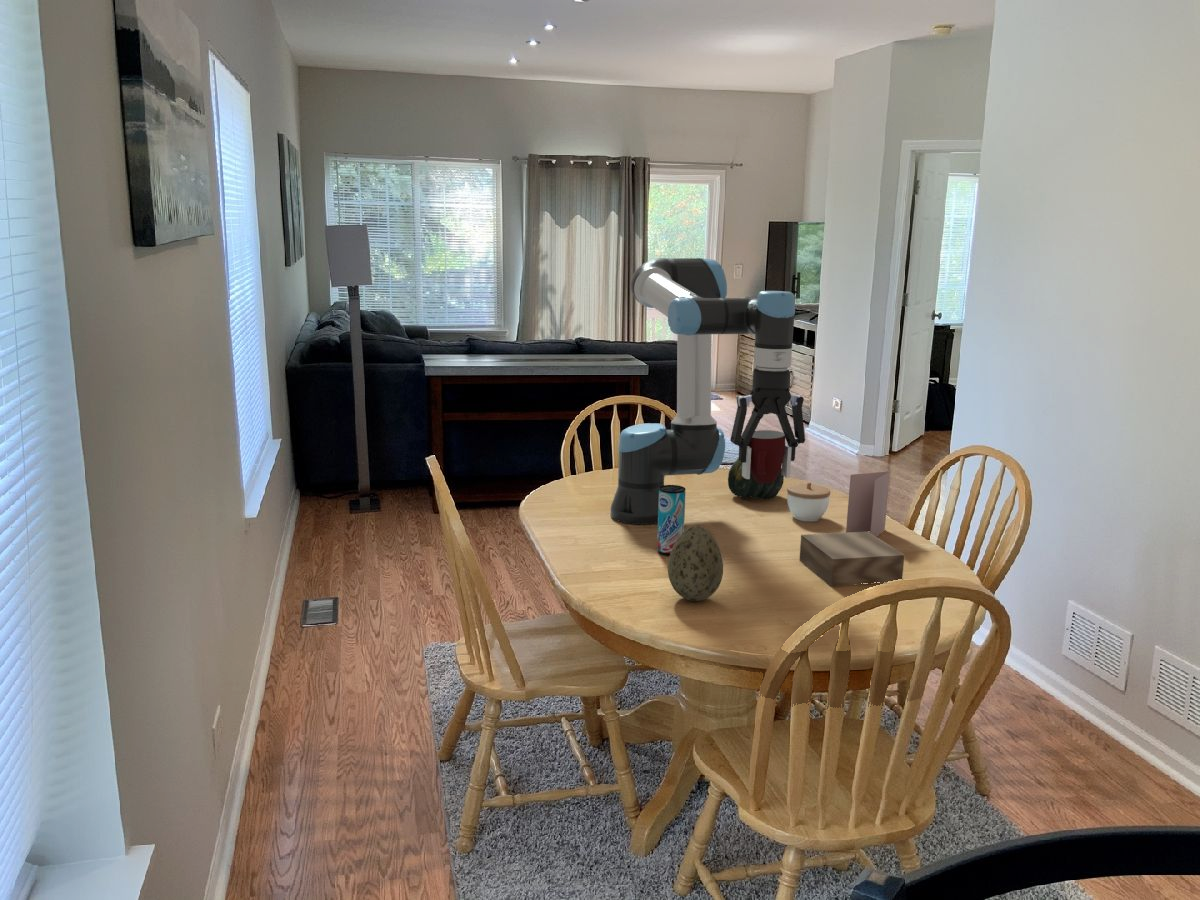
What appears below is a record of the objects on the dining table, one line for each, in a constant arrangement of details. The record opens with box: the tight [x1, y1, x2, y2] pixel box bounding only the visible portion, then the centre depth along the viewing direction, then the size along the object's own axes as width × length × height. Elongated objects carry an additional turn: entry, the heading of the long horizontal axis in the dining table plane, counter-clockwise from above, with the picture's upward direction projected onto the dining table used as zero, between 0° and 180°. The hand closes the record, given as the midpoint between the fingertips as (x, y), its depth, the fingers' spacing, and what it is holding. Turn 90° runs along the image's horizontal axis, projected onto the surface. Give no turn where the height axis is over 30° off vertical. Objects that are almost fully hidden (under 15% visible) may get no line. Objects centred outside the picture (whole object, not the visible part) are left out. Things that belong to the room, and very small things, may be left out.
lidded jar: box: [786, 481, 831, 523], centre depth 237 cm, size 11×11×9 cm
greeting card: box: [845, 471, 891, 537], centre depth 224 cm, size 11×7×15 cm, turn 111°
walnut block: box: [798, 531, 905, 588], centre depth 200 cm, size 16×16×6 cm
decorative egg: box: [667, 525, 724, 602], centre depth 182 cm, size 11×11×15 cm
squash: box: [727, 457, 785, 500], centre depth 256 cm, size 14×15×15 cm
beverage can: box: [656, 484, 686, 556], centre depth 209 cm, size 6×6×15 cm
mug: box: [748, 429, 786, 483], centre depth 193 cm, size 10×8×10 cm
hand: (765, 476), depth 194 cm, fingers closed on mug, 8 cm apart
